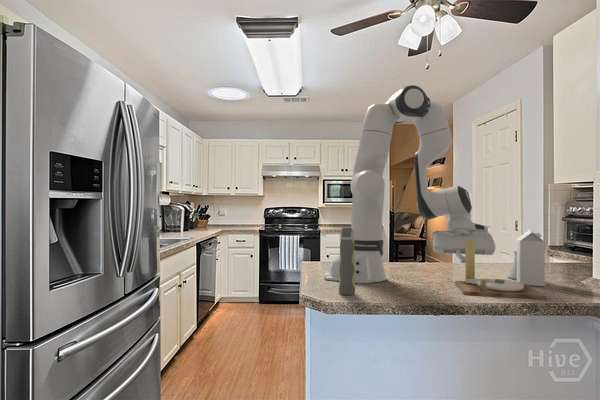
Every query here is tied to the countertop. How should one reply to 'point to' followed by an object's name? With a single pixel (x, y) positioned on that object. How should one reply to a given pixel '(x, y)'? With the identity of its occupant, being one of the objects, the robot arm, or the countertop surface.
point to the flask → (513, 268)
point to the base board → (482, 291)
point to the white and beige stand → (490, 283)
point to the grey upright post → (347, 262)
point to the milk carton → (531, 259)
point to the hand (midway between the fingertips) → (465, 262)
